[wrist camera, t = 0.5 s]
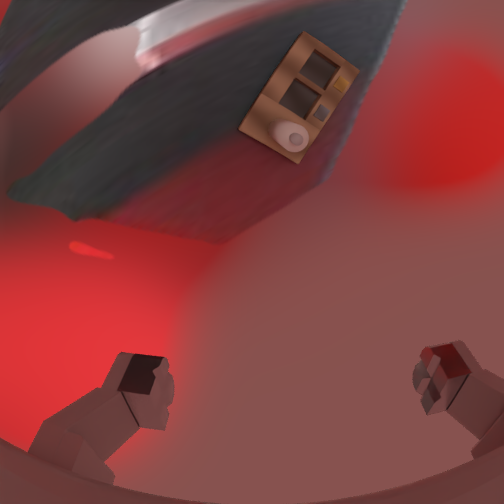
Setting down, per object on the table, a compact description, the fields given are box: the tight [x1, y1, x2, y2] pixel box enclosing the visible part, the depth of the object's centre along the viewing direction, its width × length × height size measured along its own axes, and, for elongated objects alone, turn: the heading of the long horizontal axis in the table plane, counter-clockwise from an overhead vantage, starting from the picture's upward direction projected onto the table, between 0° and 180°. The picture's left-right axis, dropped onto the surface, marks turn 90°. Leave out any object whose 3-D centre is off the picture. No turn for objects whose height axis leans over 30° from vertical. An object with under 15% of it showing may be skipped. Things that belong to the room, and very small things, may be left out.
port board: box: [238, 31, 360, 164], centre depth 45 cm, size 21×12×3 cm, turn 149°
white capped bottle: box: [268, 118, 309, 152], centre depth 42 cm, size 4×4×12 cm
